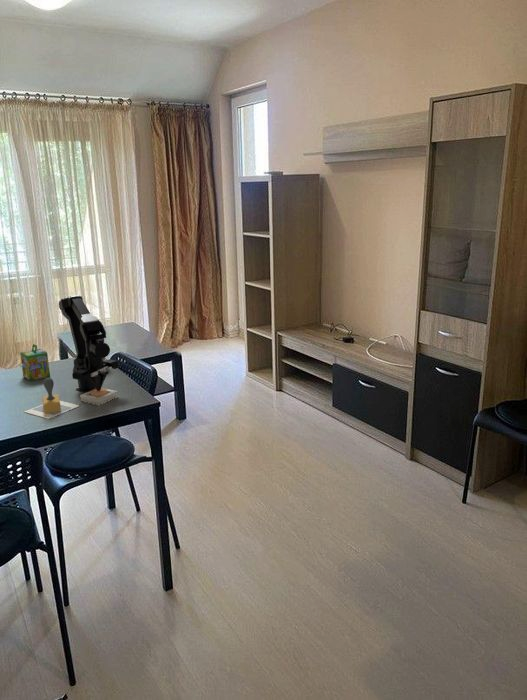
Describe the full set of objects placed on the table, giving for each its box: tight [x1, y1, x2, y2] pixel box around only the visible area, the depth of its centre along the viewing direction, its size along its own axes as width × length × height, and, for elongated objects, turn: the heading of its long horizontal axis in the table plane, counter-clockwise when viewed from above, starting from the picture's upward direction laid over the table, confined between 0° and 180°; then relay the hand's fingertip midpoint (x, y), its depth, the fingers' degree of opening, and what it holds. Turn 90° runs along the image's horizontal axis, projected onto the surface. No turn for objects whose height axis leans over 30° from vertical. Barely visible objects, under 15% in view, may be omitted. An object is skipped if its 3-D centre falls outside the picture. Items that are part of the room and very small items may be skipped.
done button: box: [91, 387, 108, 397], centre depth 211 cm, size 6×6×2 cm
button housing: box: [79, 388, 119, 406], centre depth 211 cm, size 10×10×2 cm
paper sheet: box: [23, 400, 80, 420], centre depth 202 cm, size 14×14×1 cm
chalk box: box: [19, 343, 51, 382], centre depth 239 cm, size 9×9×15 cm
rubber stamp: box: [42, 377, 61, 414], centre depth 201 cm, size 10×6×12 cm, turn 22°
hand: (98, 390), depth 210 cm, fingers closed, pressing on done button
